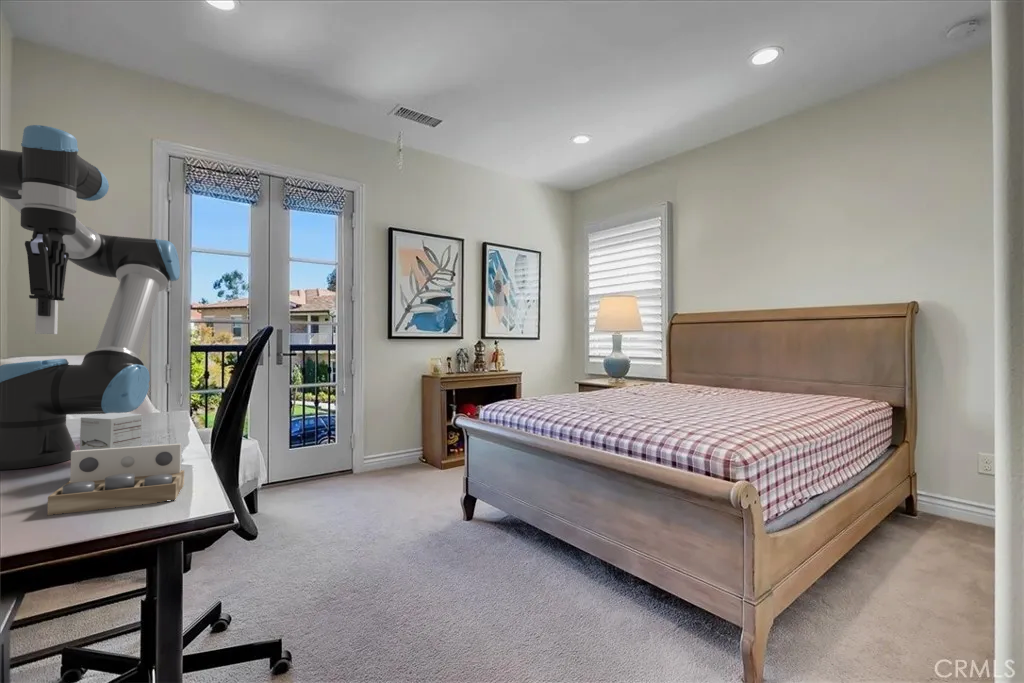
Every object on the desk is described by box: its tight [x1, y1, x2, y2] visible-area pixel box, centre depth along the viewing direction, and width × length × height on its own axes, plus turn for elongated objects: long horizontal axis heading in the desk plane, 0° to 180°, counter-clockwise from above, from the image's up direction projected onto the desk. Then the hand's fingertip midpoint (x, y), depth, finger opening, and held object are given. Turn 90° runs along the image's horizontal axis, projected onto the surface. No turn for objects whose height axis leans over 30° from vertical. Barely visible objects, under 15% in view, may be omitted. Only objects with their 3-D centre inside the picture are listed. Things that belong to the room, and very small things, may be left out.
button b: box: [105, 473, 135, 490], centre depth 82 cm, size 4×4×2 cm
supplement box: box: [79, 412, 144, 450], centre depth 98 cm, size 7×7×13 cm
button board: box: [47, 469, 185, 516], centre depth 84 cm, size 10×17×3 cm, turn 118°
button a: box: [62, 481, 95, 494], centre depth 80 cm, size 4×4×2 cm
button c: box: [144, 474, 172, 486], centre depth 85 cm, size 4×4×2 cm
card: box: [69, 443, 182, 483], centre depth 87 cm, size 1×16×6 cm, turn 118°
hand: (46, 333), depth 90 cm, fingers closed
